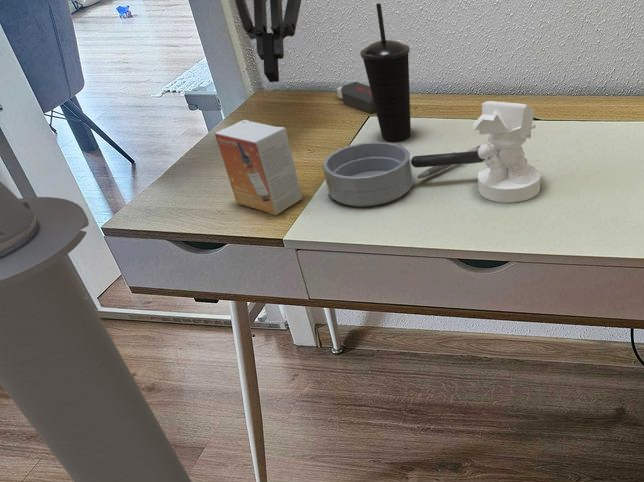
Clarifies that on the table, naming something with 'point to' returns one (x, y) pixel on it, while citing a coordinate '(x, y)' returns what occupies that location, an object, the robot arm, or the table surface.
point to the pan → (368, 173)
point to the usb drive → (357, 96)
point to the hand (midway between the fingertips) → (271, 77)
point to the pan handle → (446, 159)
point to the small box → (259, 166)
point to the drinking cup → (389, 84)
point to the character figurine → (506, 153)
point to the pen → (439, 167)
